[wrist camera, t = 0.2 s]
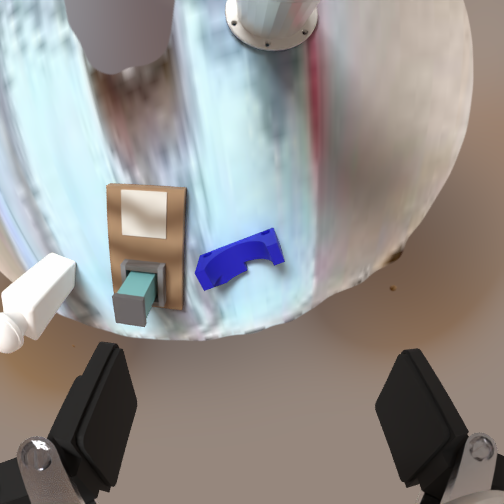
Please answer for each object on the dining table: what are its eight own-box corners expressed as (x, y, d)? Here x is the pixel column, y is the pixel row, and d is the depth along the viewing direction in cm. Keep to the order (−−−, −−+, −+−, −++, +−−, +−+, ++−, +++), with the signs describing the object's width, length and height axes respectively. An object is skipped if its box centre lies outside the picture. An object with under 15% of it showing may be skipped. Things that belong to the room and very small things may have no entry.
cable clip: (212, 278, 49) (208, 299, 44) (200, 255, 48) (194, 273, 42) (283, 252, 48) (288, 270, 42) (273, 227, 46) (277, 242, 41)
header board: (110, 183, 42) (100, 188, 39) (186, 187, 43) (181, 193, 40) (117, 296, 50) (111, 307, 47) (183, 305, 51) (179, 317, 48)
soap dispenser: (49, 248, 46) (-26, 317, 26) (78, 259, 47) (9, 338, 27) (48, 278, 49) (-16, 351, 29) (76, 290, 50) (17, 371, 30)
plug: (132, 266, 46) (112, 296, 38) (158, 269, 47) (142, 300, 38) (133, 290, 48) (116, 322, 40) (159, 293, 48) (144, 327, 40)
